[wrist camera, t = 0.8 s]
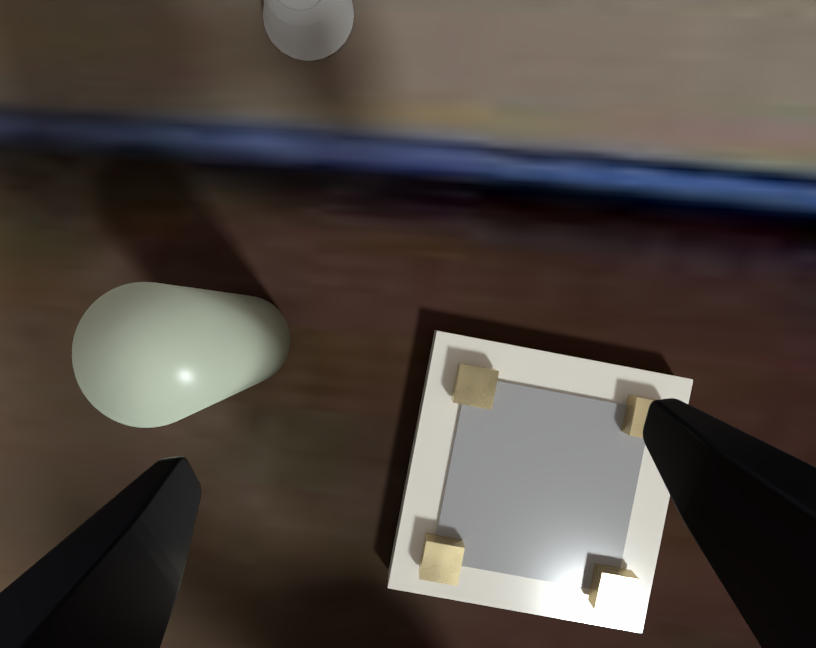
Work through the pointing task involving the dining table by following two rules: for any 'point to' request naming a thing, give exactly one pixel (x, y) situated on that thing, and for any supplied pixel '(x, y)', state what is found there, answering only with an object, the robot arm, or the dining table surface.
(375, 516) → the dining table surface
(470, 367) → the display tile
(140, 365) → the sage green capsule
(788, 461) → the robot arm
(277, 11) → the chalice
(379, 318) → the dining table surface
